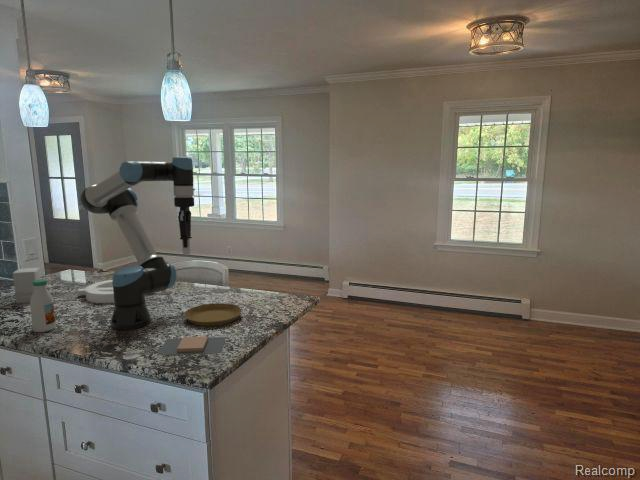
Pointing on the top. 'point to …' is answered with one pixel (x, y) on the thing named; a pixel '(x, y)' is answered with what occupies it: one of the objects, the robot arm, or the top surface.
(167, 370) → the top surface
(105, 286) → the ring with crossbar
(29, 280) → the supplement box
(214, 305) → the plant saucer
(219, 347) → the mat
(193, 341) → the tile
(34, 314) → the milk bottle
